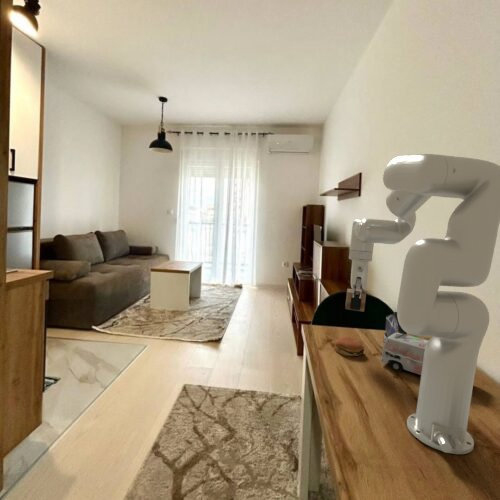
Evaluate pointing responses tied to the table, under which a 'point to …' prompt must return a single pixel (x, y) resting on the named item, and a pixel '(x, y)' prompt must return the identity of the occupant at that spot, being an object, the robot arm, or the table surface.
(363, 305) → the light brown cube
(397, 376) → the table surface
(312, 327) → the table surface
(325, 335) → the table surface
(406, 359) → the toy car
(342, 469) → the table surface
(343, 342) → the burger
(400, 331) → the decorative emblem
